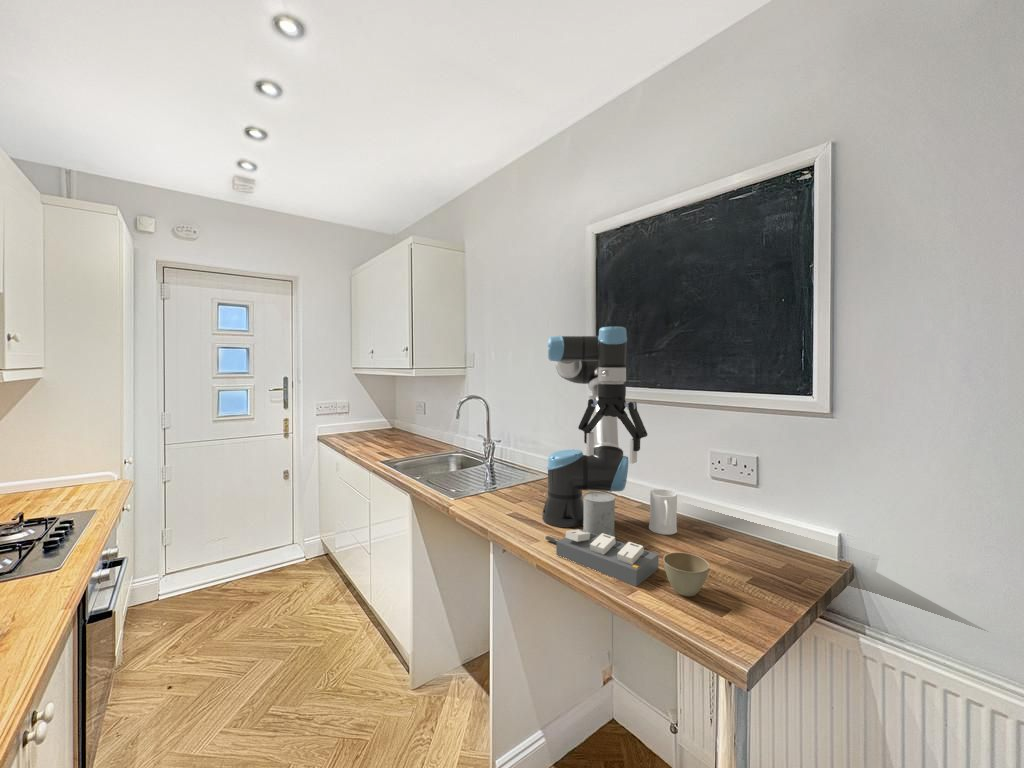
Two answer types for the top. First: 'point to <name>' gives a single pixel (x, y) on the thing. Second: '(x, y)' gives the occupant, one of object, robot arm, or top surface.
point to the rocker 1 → (577, 535)
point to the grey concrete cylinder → (599, 513)
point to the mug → (663, 511)
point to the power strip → (607, 559)
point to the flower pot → (685, 572)
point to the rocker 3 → (630, 553)
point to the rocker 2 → (602, 543)
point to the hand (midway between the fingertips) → (610, 458)
